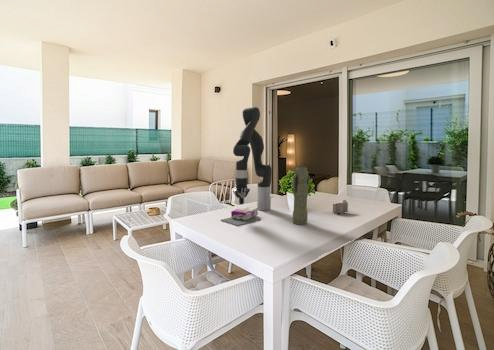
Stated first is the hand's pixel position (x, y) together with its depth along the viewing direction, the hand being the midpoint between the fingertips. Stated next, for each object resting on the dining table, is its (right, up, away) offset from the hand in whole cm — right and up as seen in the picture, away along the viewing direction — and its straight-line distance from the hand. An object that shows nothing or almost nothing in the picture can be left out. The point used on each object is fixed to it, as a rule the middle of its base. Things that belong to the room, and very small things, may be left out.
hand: (241, 204), depth 184 cm
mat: (0, -11, +1) cm, 11 cm away
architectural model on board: (+69, -9, +21) cm, 73 cm away
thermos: (+36, -12, -4) cm, 38 cm away
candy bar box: (-2, -8, 0) cm, 8 cm away
